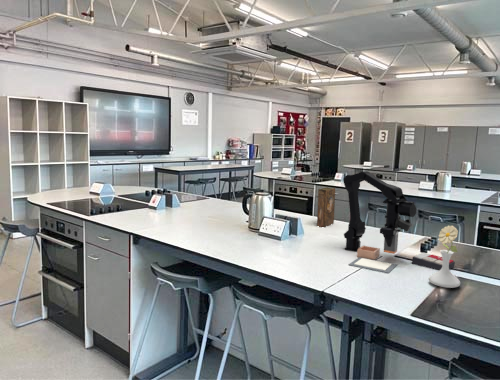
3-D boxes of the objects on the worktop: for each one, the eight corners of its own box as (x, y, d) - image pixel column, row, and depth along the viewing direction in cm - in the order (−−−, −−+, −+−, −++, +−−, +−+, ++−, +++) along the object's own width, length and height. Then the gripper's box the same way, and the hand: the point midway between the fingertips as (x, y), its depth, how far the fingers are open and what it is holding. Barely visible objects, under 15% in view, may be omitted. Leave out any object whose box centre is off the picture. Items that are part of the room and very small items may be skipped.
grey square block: (383, 251, 182) (384, 231, 181) (386, 249, 187) (387, 229, 185) (394, 253, 180) (395, 233, 178) (397, 251, 184) (398, 231, 182)
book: (323, 227, 251) (325, 190, 248) (316, 226, 254) (317, 189, 251) (333, 223, 264) (335, 188, 261) (326, 222, 267) (327, 187, 264)
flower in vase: (424, 279, 158) (428, 220, 155) (452, 280, 157) (457, 221, 154) (436, 291, 145) (441, 227, 142) (467, 293, 144) (473, 228, 141)
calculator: (445, 264, 167) (412, 255, 178) (444, 274, 168) (411, 264, 179) (455, 260, 174) (423, 251, 185) (454, 269, 175) (421, 259, 186)
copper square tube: (357, 257, 188) (357, 249, 187) (362, 253, 194) (363, 245, 194) (374, 260, 183) (374, 252, 182) (379, 256, 190) (379, 248, 189)
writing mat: (348, 265, 175) (348, 263, 175) (358, 257, 186) (359, 256, 186) (388, 273, 165) (388, 271, 165) (397, 265, 176) (397, 263, 176)
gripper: (405, 218, 169) (403, 252, 171) (415, 212, 184) (412, 244, 186) (380, 215, 175) (378, 248, 177) (391, 210, 190) (389, 240, 192)
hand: (390, 245), depth 183 cm, fingers closed on grey square block, 5 cm apart
